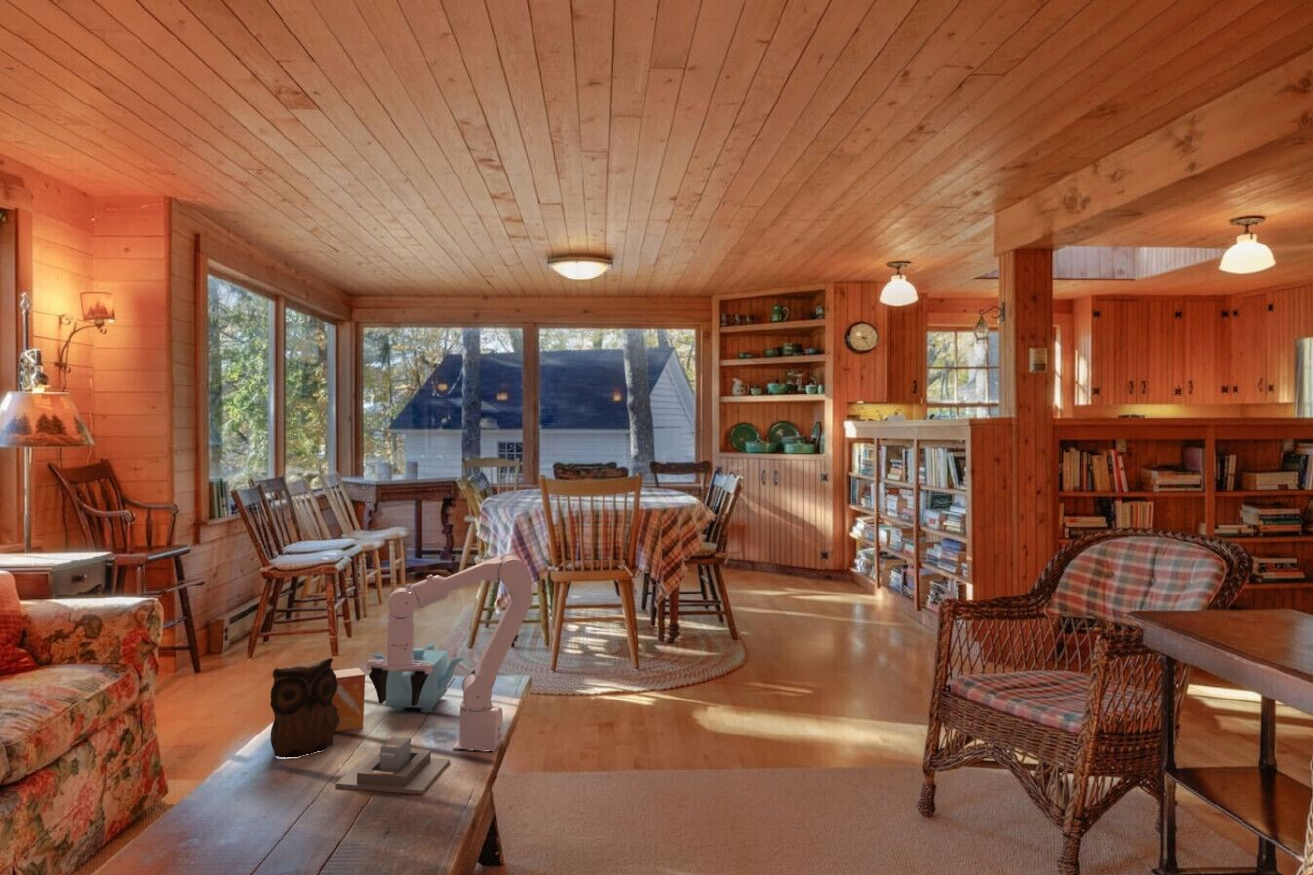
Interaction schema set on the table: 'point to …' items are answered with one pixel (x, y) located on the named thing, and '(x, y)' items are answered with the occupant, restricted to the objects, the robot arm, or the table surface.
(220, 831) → the table surface
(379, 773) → the chassis
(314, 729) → the owl
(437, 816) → the table surface
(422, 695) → the teakettle
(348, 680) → the small box
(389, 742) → the block
